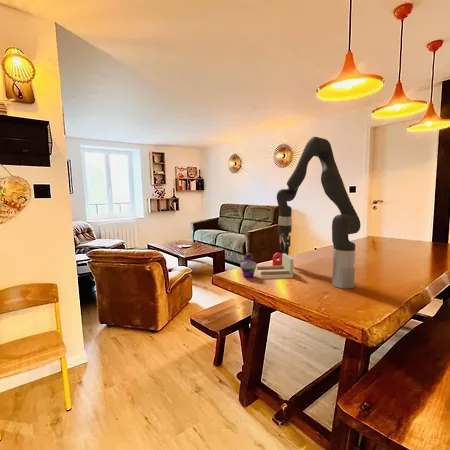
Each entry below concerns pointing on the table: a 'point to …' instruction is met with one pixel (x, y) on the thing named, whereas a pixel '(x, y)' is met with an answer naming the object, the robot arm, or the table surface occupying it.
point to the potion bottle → (248, 266)
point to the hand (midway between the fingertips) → (284, 251)
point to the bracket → (277, 262)
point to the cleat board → (277, 269)
